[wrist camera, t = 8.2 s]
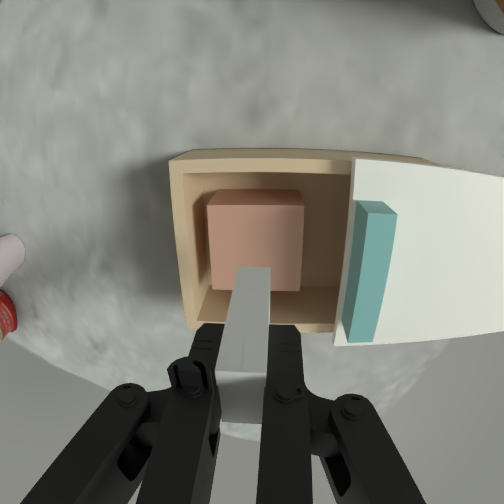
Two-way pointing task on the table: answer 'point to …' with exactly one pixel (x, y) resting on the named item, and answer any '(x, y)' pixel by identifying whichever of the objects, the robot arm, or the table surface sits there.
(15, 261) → the smoothie
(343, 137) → the table surface
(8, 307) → the liquor
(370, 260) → the lid
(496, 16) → the coffee cup
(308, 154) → the box
